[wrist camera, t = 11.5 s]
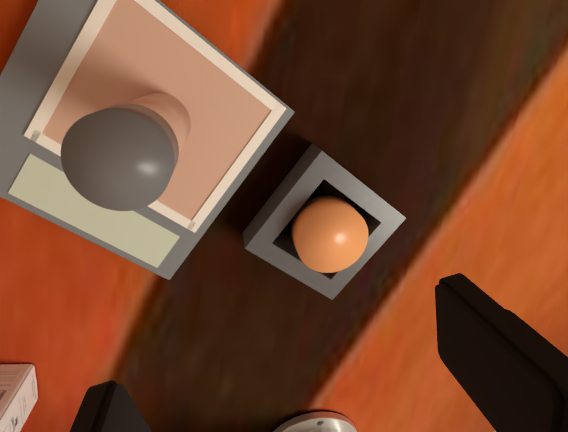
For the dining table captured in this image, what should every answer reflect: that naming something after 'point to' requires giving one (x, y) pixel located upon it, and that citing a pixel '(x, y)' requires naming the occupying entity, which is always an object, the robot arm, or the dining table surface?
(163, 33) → the picture board
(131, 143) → the marker
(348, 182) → the button housing
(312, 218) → the button
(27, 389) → the ink box
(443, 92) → the dining table surface
